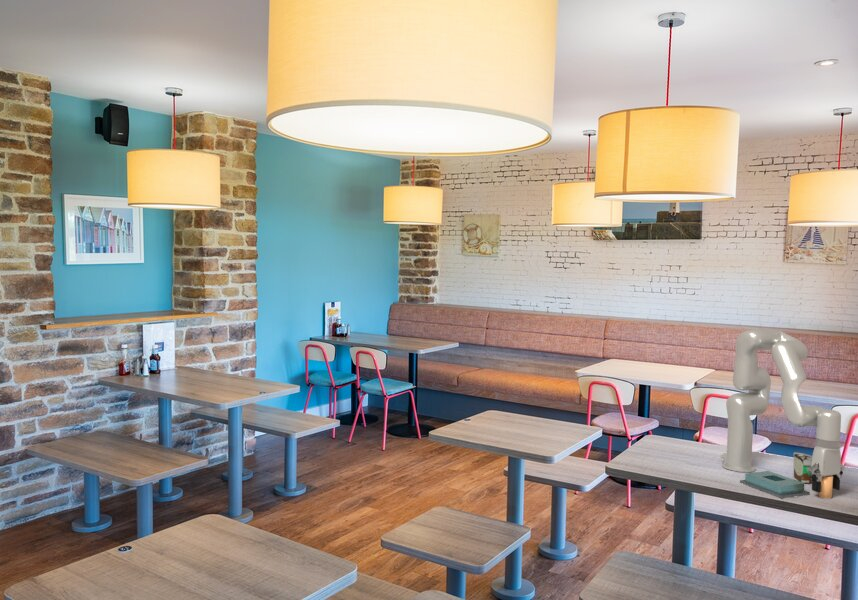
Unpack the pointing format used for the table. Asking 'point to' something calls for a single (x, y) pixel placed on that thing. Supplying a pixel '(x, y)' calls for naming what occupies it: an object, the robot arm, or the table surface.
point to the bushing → (826, 487)
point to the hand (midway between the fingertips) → (825, 490)
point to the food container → (802, 467)
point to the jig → (775, 484)
